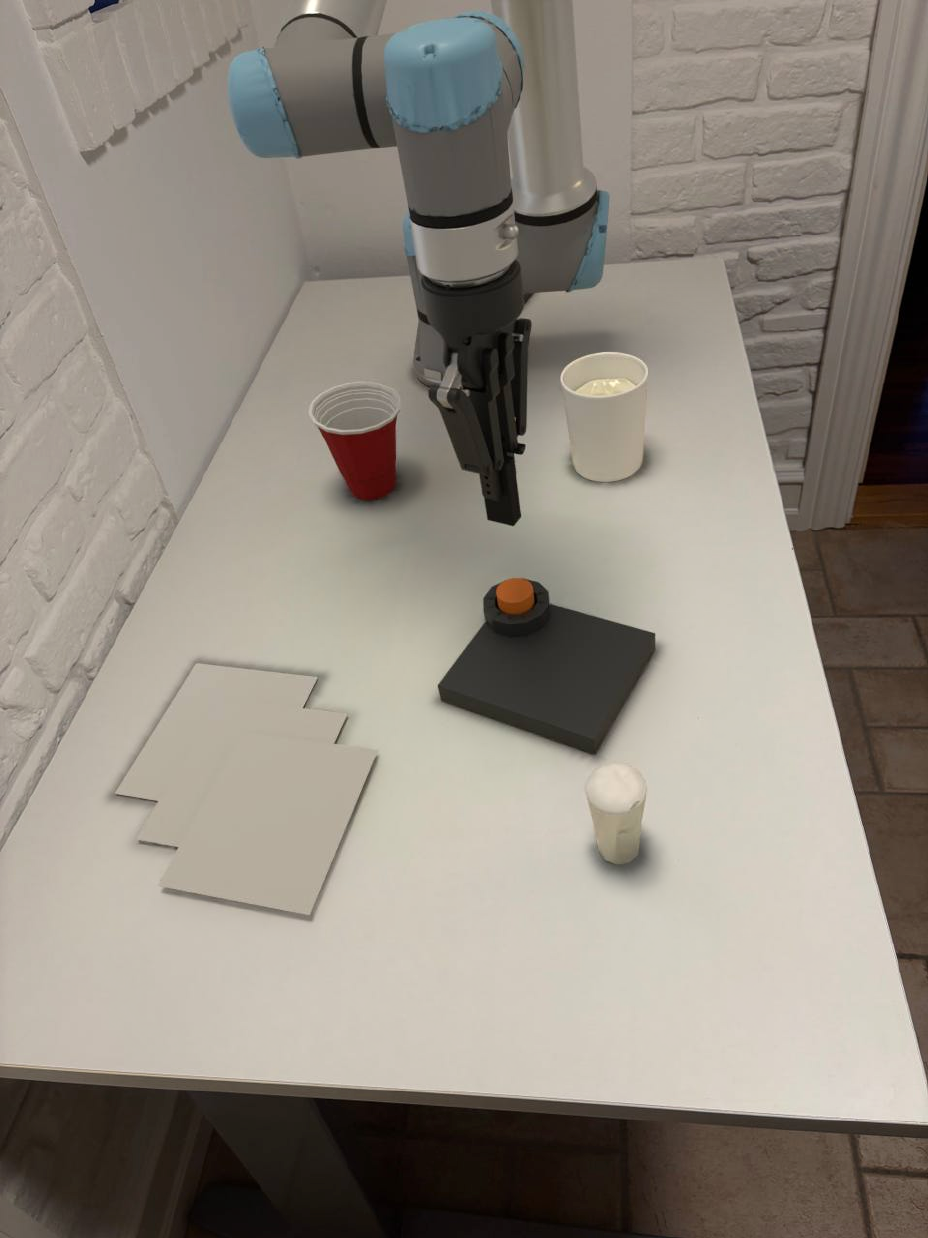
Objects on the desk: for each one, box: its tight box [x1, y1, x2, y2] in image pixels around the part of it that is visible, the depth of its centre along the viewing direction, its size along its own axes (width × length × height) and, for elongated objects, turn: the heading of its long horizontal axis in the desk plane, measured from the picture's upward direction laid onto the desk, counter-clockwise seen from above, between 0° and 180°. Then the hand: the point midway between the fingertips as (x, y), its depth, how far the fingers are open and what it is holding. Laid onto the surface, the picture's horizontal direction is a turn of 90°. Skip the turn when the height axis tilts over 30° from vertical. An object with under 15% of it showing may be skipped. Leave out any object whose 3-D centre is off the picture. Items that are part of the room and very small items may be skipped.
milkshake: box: [584, 761, 648, 866], centre depth 73 cm, size 4×5×10 cm
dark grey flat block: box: [437, 577, 656, 755], centre depth 91 cm, size 15×17×4 cm
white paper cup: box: [559, 351, 650, 483], centre depth 111 cm, size 10×10×12 cm
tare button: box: [496, 577, 534, 615], centre depth 94 cm, size 4×4×2 cm
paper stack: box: [114, 662, 379, 916], centre depth 87 cm, size 23×25×1 cm
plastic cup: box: [308, 380, 402, 502], centre depth 114 cm, size 11×11×12 cm
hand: (504, 518), depth 87 cm, fingers closed
